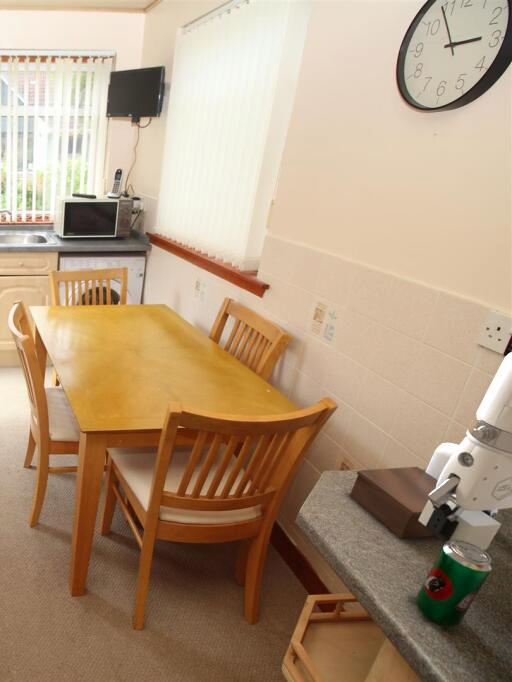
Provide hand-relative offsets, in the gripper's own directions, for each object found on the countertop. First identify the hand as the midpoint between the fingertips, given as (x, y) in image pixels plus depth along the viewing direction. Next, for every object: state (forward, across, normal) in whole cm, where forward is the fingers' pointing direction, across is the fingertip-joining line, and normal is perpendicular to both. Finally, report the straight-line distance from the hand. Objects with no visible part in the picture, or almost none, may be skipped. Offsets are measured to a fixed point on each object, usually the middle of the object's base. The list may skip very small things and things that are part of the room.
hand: (452, 532), depth 74 cm
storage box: (+8, +7, +12) cm, 16 cm away
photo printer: (+8, +18, +13) cm, 24 cm away
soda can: (+8, -8, -7) cm, 13 cm away
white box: (0, 0, 0) cm, 0 cm away
